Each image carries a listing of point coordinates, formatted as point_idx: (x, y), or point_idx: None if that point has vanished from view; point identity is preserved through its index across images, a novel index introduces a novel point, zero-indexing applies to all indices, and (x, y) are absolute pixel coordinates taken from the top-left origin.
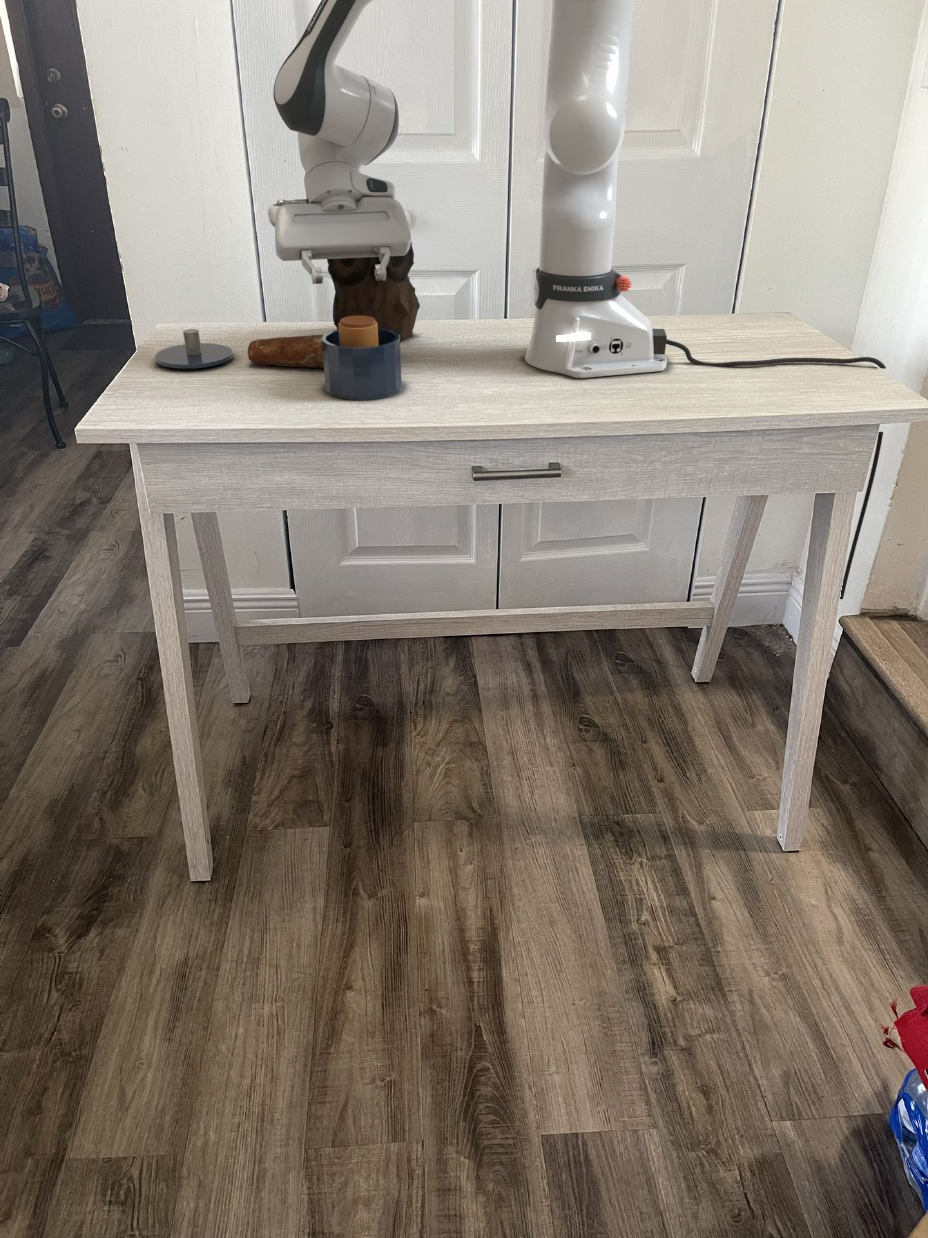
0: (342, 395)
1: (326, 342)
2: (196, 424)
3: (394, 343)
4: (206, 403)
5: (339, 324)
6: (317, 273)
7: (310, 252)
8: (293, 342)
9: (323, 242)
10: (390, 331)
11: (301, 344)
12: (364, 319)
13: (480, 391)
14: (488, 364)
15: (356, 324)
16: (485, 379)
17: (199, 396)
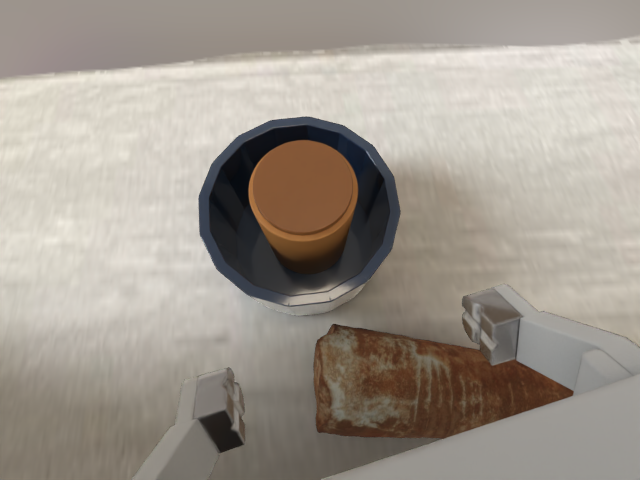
0: None
1: (378, 157)
2: (541, 63)
3: (212, 165)
4: (569, 149)
5: (353, 175)
6: (494, 299)
7: (603, 372)
8: (501, 369)
9: (563, 415)
10: (224, 262)
11: (476, 358)
12: (283, 187)
13: (77, 229)
14: (24, 422)
15: (300, 140)
16: (53, 304)
17: (599, 183)
